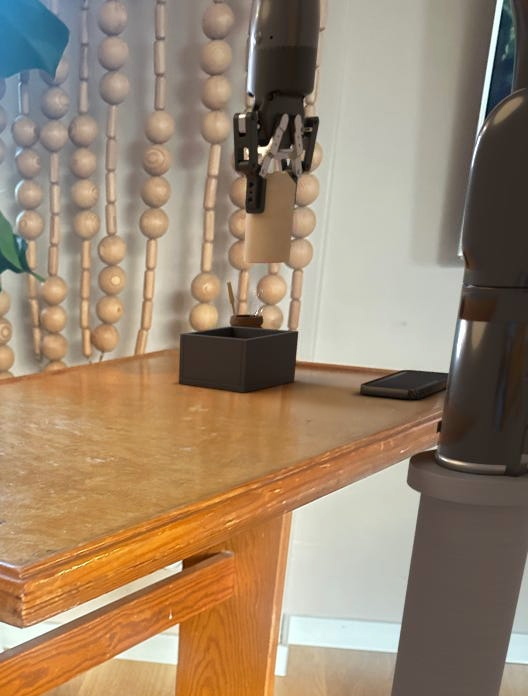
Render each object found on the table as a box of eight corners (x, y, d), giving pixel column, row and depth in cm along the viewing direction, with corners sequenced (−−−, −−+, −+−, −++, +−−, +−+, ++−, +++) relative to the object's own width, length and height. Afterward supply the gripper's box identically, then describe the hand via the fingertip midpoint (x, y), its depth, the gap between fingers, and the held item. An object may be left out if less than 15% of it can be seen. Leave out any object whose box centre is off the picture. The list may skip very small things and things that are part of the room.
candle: (281, 260, 115) (288, 170, 111) (295, 262, 110) (303, 169, 106) (238, 261, 115) (244, 171, 111) (250, 264, 110) (256, 170, 106)
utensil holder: (257, 365, 144) (262, 283, 139) (218, 363, 147) (222, 283, 142) (267, 360, 149) (273, 280, 144) (229, 358, 152) (233, 280, 147)
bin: (294, 381, 130) (298, 331, 128) (244, 392, 124) (247, 340, 121) (229, 373, 138) (231, 325, 136) (178, 383, 132) (179, 333, 129)
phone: (357, 385, 120) (404, 369, 129) (356, 393, 120) (403, 377, 130) (417, 390, 115) (461, 373, 125) (416, 400, 115) (460, 382, 125)
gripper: (273, 37, 96) (260, 214, 104) (347, 48, 105) (330, 211, 112) (216, 46, 101) (207, 214, 109) (291, 56, 110) (278, 212, 117)
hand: (270, 212), depth 110 cm, fingers closed on candle, 5 cm apart
